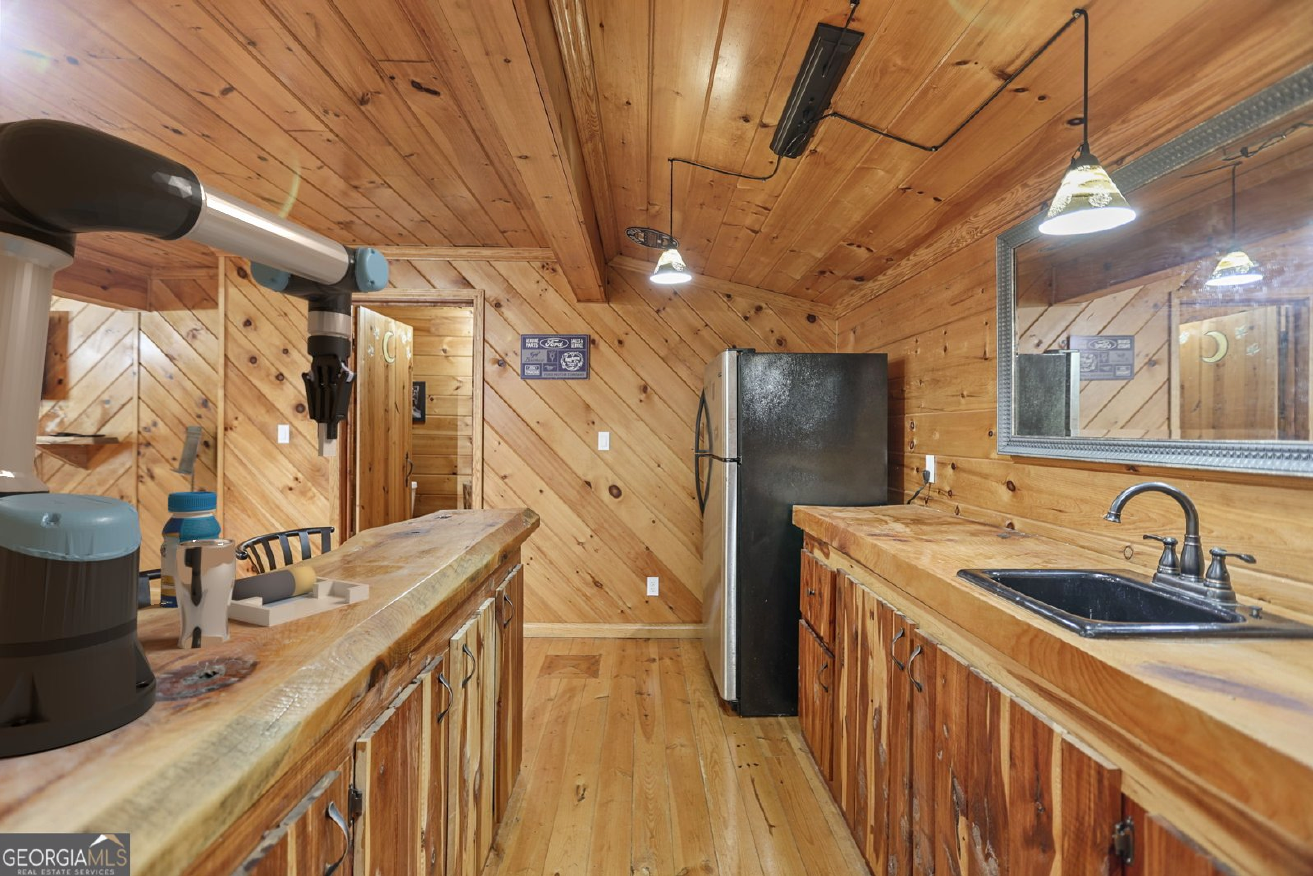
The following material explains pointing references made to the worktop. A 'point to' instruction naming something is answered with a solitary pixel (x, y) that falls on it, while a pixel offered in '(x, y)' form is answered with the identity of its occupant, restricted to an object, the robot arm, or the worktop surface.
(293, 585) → the battery-shaped cylinder
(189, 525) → the beverage bottle
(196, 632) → the beer glass
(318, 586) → the beige holder tray
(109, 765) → the worktop surface
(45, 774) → the worktop surface
